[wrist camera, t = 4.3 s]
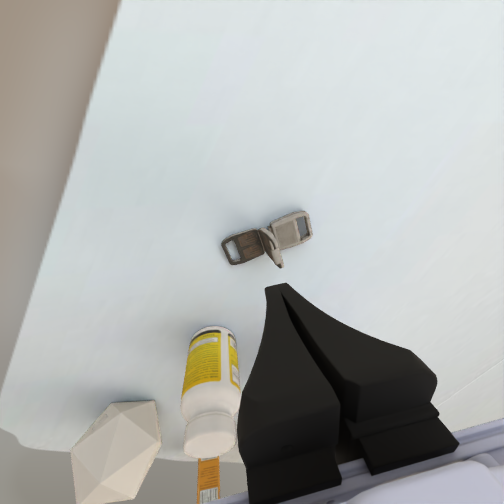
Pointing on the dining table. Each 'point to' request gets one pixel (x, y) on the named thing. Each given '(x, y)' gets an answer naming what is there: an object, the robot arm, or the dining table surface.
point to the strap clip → (269, 239)
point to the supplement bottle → (210, 393)
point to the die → (116, 453)
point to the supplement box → (208, 480)
